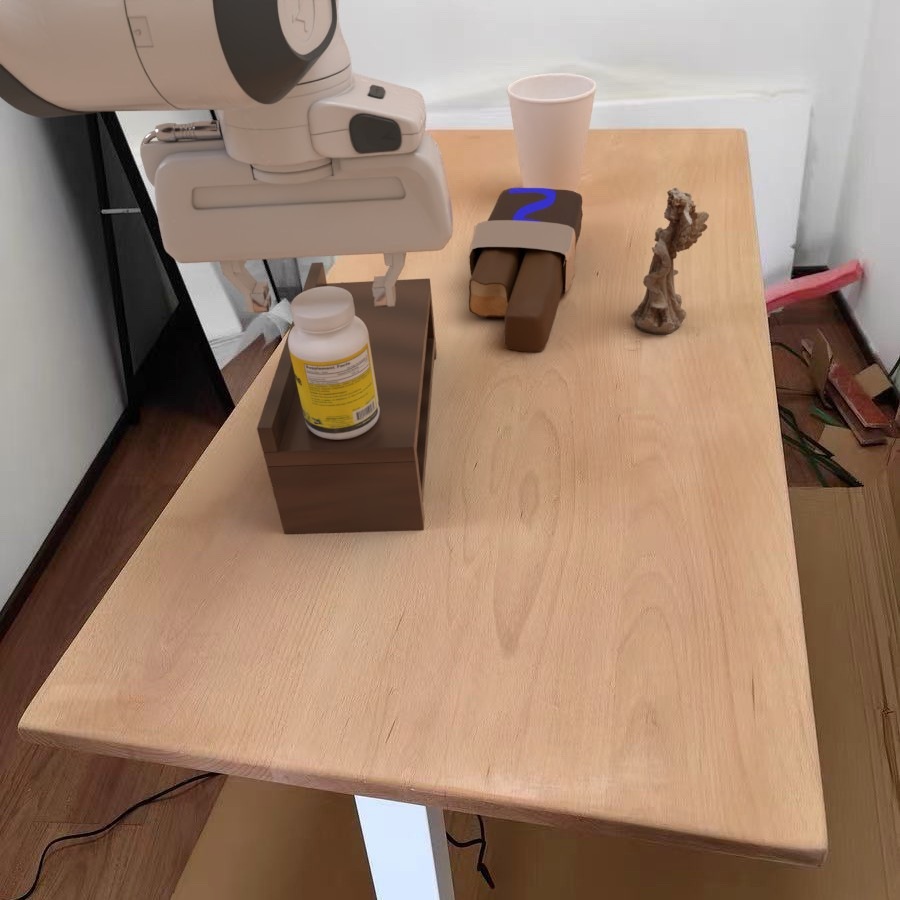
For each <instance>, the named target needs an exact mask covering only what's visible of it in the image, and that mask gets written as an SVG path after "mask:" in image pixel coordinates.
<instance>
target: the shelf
mask: <svg viewBox="0 0 900 900" xmlns="http://www.w3.org/2000/svg"><path fill="white" fill-rule="evenodd" d="M373 283H374V280H371V281H349V282H330V283H328V282H327V277H326V272H325V265H324V262H311V264H310V267H309V270H308V272H307V276H306V279H305V282H304V285H303V288H302V291H301V293H302V292H304V291H307V290H309V289H312V288H317V287H324V286H333V287H339V288H343V289H345V290H347V291H348V292H350V294H351V295H352V297H353V302H354V308H355V316H357V317H358V318H360V319H361V320H362V321H363V322H364V324H365V325H366V327H367V330H368V334H369V340H370V347H371V354H372V360H373V367H374V373H375V380H376V386H377V393H378V400H379V408H380V413H379V418H378V420H377V422H376V423H375V424H374V426H373V427H372V428H370V429H369V430H368V431H366V432H365V433H363V434H361V435H359V436H357V437H353V438H349V439H341V440H333V439H327V438H322V437H319V436H317V435H315V434H314V433H313V432H311V431H310V430H309V428H308V427H307V425H306V422H305V418H304V414H303V410H302V405H301V401H300V396H299V392H298V387H297V383H296V378H295V373H294V369H293V364H292V360H291V356H290V351H289V346H288V337H289V334H290V331H291V330H292V328H293V327H294V326H295V325H294V322H293V320H292V321H291V324H290V327H289V330H288V334H287V337H286V339H285V341H284V342H285V343H284V345H283V349H282V352H281V354H280V358H279V361H278V363H277V367H276V369H275V373H274V376H273V378H272V381H271V384H270V388H269V391H268V394H267V397H266V399H265V402H264V406H263V409H262V411H261V415H260V417H259V421H258V423H257V427H256V431H257V434H258V438H259V442H260V446H261V450H262V453H263V457H264V461H265V465H266V469H267V474H268V477H269V482H270V484H271V485H270V486H271V489H272V492H273V496H274V500H275V503H276V507H277V511H278V515H279V519H280V523H281V526H282V530H283V534H284V535H295V534H298V535H299V534H328V533H329V534H330V533H331V534H333V533H358V532H359V533H361V532H362V533H363V532H364V533H365V532H393V531H397V532H398V531H423V530H424V529H425V509H424V496H425V484H426V483H425V482H426V471H427V469H426V468H427V457H428V444H429V432H430V431H429V430H430V428H429V427H430V418H431V403H432V393H433V392H432V390H433V380H434V365H435V360H437V355H438V354H437V353H438V351H437V350H438V349H437V339H436V329H435V328H436V327H435V317H434V308H433V296H432V285H431V278H411V279H410V278H409V279H397V281H396V283H395V290H396V302H395V306H391V307H375V305H374V298H375V297H374V296H373V291H372V286H373Z"/></svg>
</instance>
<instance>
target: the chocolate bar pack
mask: <svg viewBox="0 0 900 900" xmlns="http://www.w3.org/2000/svg"><path fill="white" fill-rule="evenodd" d="M583 215H584V214H583V197H582V195H581V194H580V193H578V192H577V191H576V192H574V191H570V190H558V189H548V188H524V187H510V188H507V189H504V190H503V191H502V192H500V193H499V196H498V198H497V201H496V202H495V204H494V207H493V209H492V211H491V213H490V215H489V217H488V219H487V220H484V221H481V222H478V223H477V224H476V225H474V228H473V233H472V237H471V238H472V239H471V241H470V247H469V254H468V259H469V260H468V264H469V272H470V279H469V281H468V293H469V294H468V295H469V296H468V311H469V312H470V314H472V315H474V316H476V317H478V318H488V317H489V318H490V317H491V318H492V317H494V318H504V329H503V331H504V333H503V341H504V345H505V347H506V348H507V349H508V350H512V351H518V352H527V353H528V352H532V353H534V352H539V351H540V352H541V351H542V350H543V349H545V347H546V346H547V344H548V341H549V338H550V335H551V333H552V329H553V326H554V325H553V324H554V320H555V318H556V315H557V312H558V311H557V310H558V307H559V303H560V299H561V296H563V295H565V294H566V293H567V291H568V290H569V289H570V288H571V285H572V282H573V280H574V277H575V274H576V273H575V272H576V269H575V257H576V248H577V243H578V241H579V238H580V235H581V230H582V222H583Z"/></svg>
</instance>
